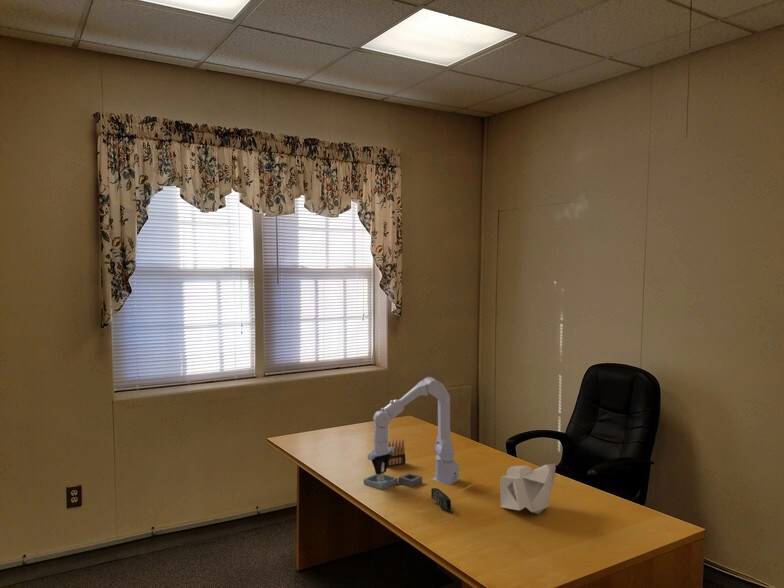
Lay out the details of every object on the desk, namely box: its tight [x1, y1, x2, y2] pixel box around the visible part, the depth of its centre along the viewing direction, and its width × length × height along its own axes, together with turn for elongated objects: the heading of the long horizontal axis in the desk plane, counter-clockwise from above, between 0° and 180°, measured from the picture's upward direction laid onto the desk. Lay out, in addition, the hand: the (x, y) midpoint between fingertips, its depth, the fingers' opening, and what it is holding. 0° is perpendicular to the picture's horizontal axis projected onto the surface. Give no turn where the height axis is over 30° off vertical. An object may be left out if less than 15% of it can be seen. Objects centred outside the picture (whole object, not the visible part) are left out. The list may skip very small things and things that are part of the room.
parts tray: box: [363, 473, 399, 491], centre depth 241 cm, size 10×10×2 cm
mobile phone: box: [430, 487, 454, 514], centre depth 220 cm, size 5×3×15 cm
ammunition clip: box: [387, 438, 406, 468], centre depth 264 cm, size 11×2×12 cm, turn 119°
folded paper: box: [499, 463, 557, 516], centre depth 218 cm, size 17×24×17 cm
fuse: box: [377, 462, 385, 481], centre depth 241 cm, size 3×3×7 cm
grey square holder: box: [398, 472, 423, 488], centre depth 242 cm, size 7×7×3 cm
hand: (380, 472), depth 241 cm, fingers closed on fuse, 3 cm apart
